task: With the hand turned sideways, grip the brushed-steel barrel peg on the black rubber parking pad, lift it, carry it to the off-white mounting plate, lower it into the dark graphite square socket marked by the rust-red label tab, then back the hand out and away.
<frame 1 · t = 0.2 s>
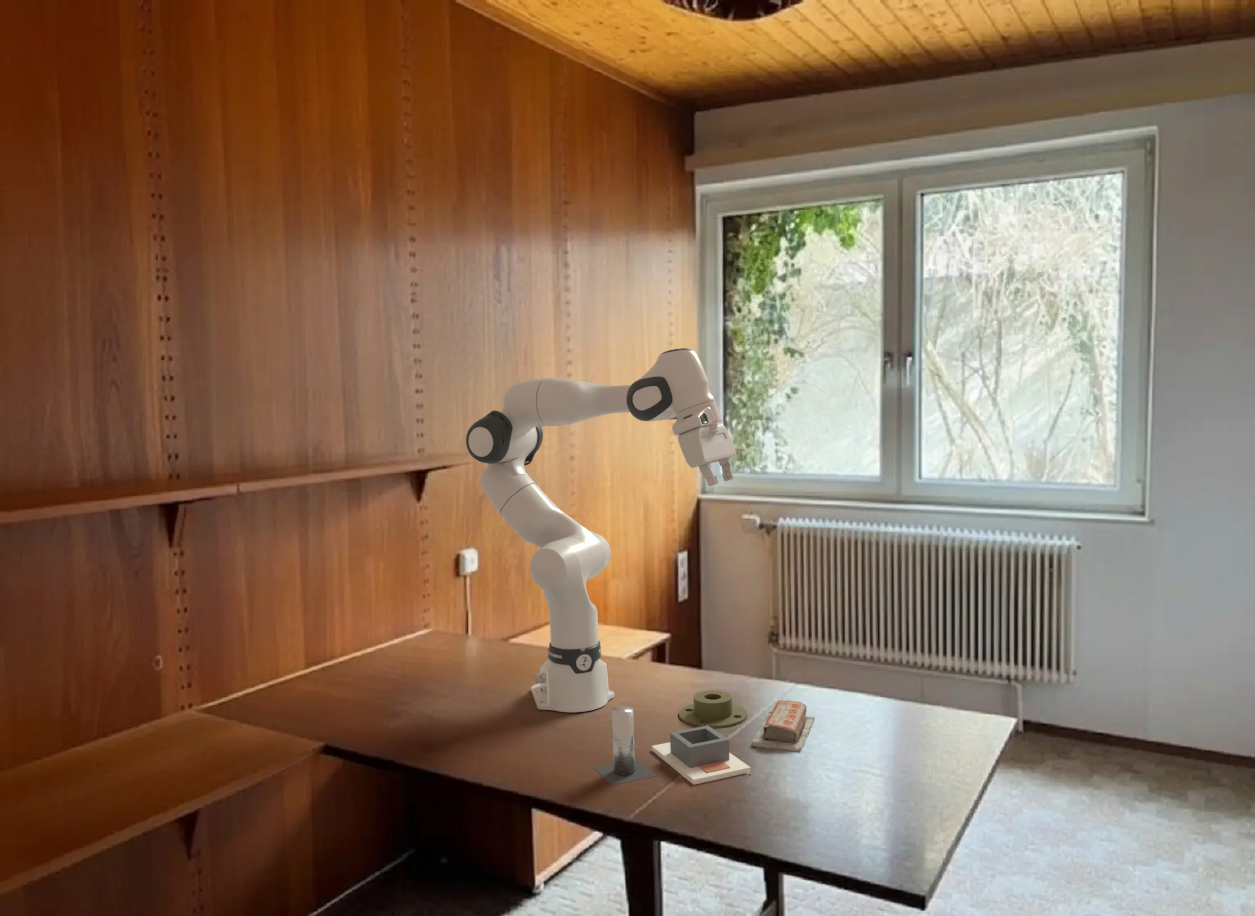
hand: (721, 482, 198), 52 cm above the table, tool tilted 20°, fingers open, 8 cm apart
parking pad: (624, 774, 178), on the table
barrel peg: (624, 771, 178), point 1 cm above the table, touching parking pad
mounting plate: (699, 763, 182), on the table
packaged product: (784, 736, 197), on the table
flange: (713, 718, 208), on the table
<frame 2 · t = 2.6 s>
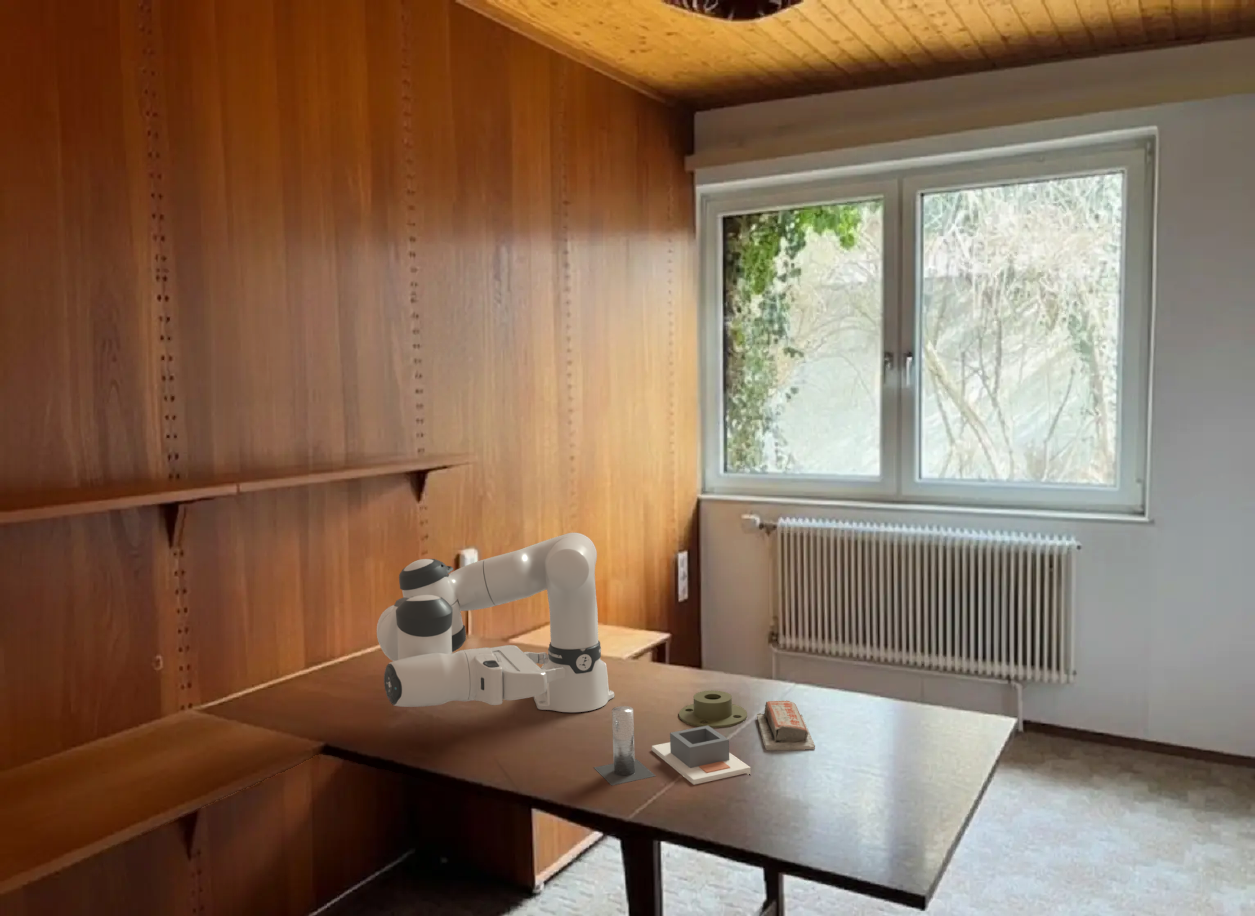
hand: (555, 664, 171), 23 cm above the table, tool horizontal, fingers open, 8 cm apart
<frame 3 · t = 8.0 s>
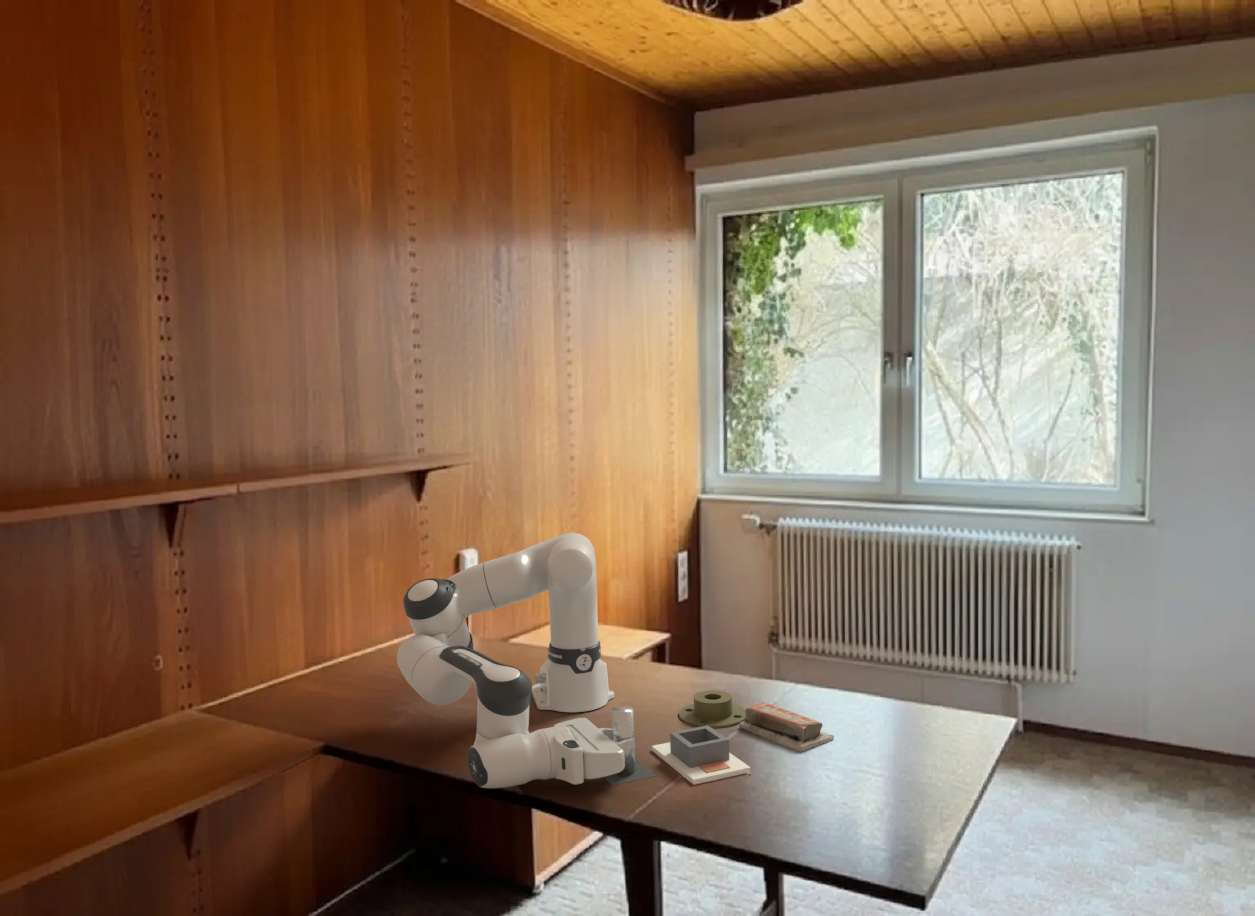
hand: (627, 737, 178), 7 cm above the table, tool horizontal, fingers closed on barrel peg, 4 cm apart
barrel peg: (624, 771, 178), point 1 cm above the table, touching gripper, parking pad
when the fingers open (9 cm above the table, at t = 13.1 s): barrel peg drops 1 cm, resting on mounting plate.
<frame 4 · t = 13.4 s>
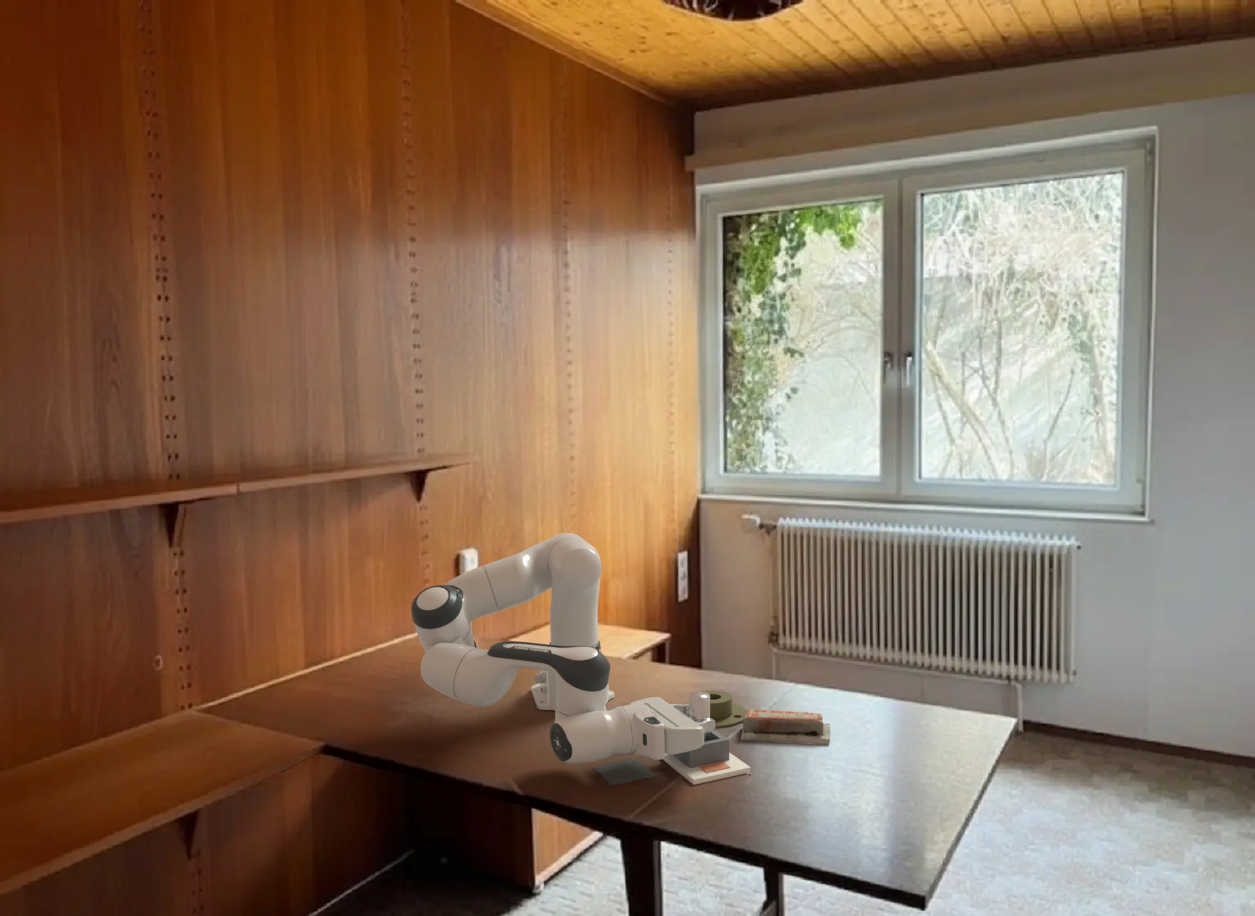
hand: (702, 715, 182), 9 cm above the table, tool horizontal, fingers open, 7 cm apart
barrel peg: (699, 756, 182), point 2 cm above the table, touching mounting plate
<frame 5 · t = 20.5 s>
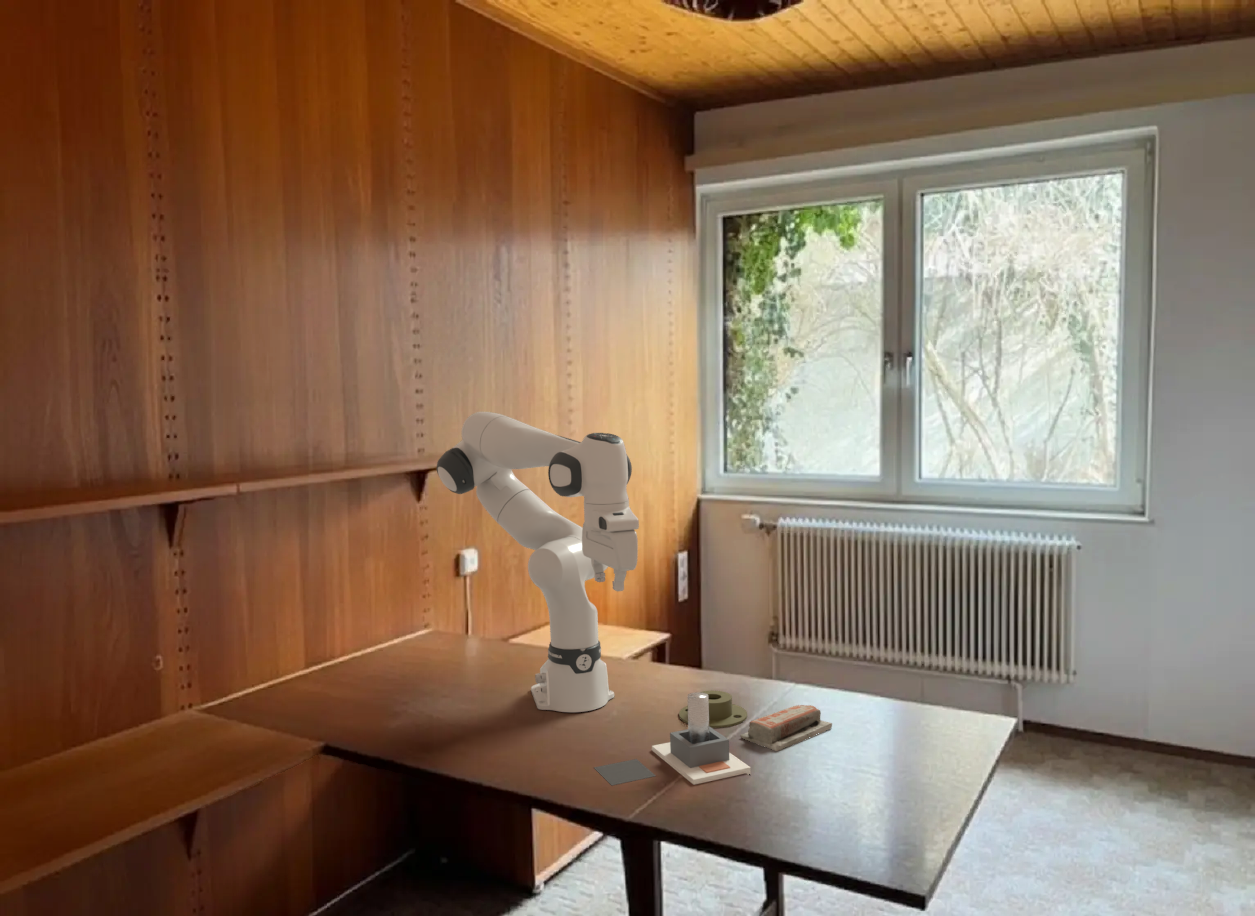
hand: (609, 585, 185), 34 cm above the table, tool pointing down, fingers open, 8 cm apart
at the end: barrel peg 0.0 cm off-centre on the mounting plate, point 1.5 cm above the mounting plate's base; barrel peg tilted 0°; the gripper is holding nothing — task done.
